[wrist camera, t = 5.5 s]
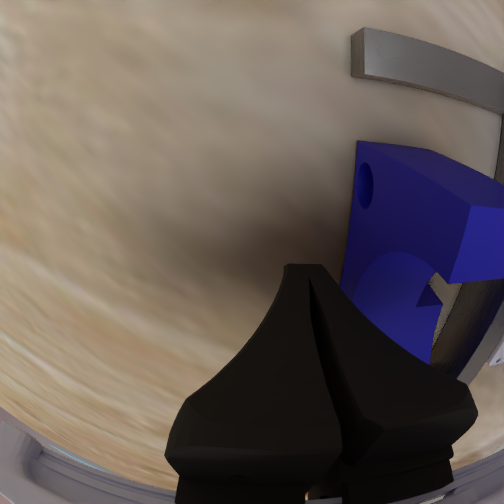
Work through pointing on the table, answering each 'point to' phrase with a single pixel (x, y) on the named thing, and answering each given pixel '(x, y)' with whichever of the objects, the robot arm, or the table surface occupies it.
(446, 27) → the table surface
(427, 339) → the cable clip
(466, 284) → the rail
